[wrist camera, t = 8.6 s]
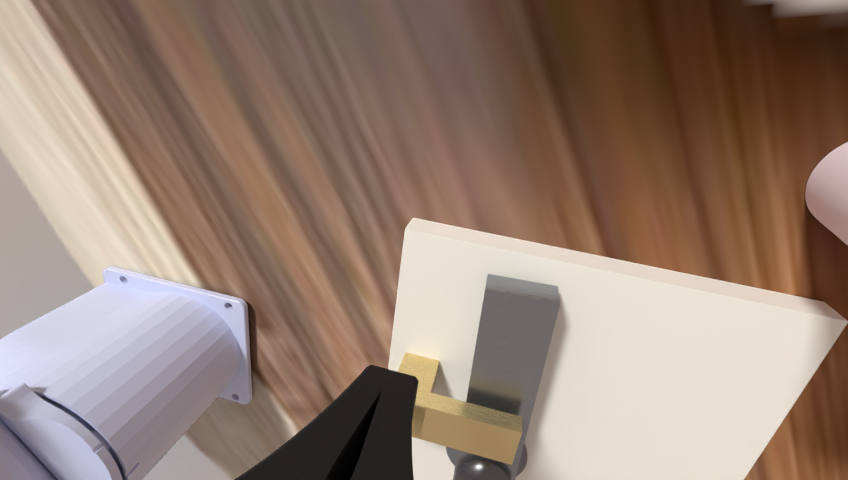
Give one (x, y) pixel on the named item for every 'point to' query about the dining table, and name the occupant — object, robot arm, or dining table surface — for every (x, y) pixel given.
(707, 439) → the base board
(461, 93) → the dining table surface
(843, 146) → the smoothie
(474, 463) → the latch bar
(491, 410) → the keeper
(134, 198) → the dining table surface
